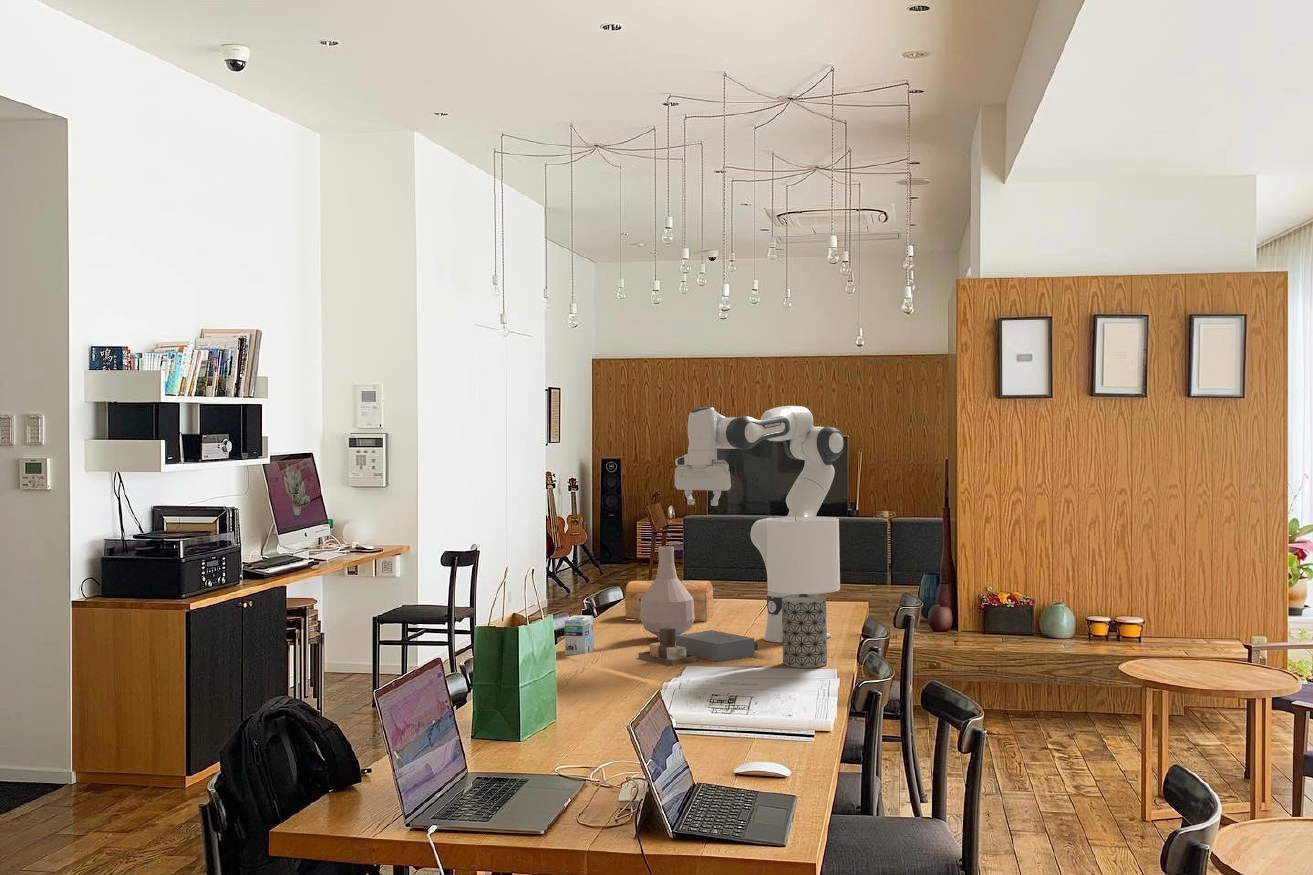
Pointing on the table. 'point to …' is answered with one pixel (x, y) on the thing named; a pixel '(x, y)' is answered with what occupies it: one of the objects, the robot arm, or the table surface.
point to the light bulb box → (579, 635)
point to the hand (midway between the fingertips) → (702, 505)
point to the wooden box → (696, 589)
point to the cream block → (676, 652)
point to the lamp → (803, 583)
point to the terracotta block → (655, 649)
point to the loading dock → (717, 645)
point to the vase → (667, 599)
